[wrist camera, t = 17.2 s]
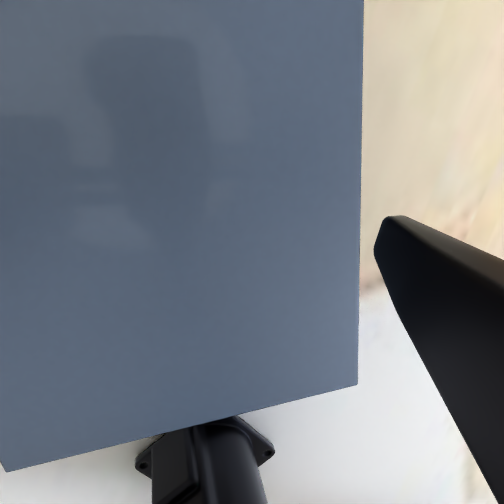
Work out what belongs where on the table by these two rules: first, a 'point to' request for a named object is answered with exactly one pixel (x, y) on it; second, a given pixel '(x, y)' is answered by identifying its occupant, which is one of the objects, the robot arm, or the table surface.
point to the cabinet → (174, 214)
